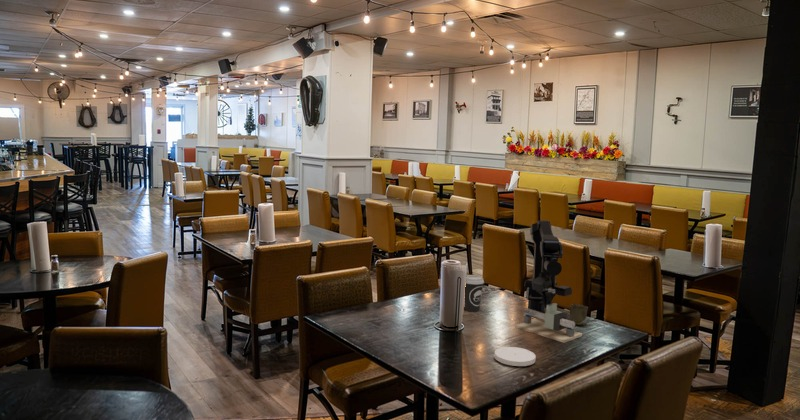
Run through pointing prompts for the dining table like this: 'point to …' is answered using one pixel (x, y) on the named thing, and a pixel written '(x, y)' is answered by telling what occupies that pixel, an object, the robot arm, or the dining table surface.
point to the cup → (578, 313)
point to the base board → (547, 331)
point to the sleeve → (550, 315)
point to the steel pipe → (541, 316)
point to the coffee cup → (473, 293)
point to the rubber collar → (557, 321)
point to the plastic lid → (515, 356)
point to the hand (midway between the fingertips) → (546, 307)
